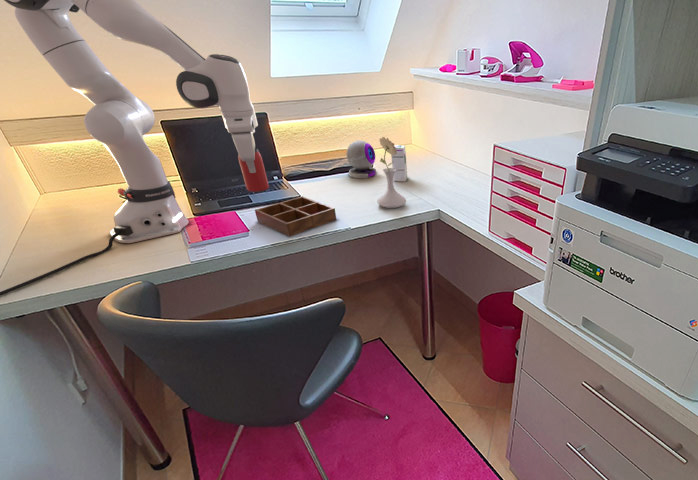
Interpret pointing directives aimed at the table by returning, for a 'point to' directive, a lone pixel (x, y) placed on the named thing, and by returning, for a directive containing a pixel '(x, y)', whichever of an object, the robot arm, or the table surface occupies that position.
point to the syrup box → (399, 164)
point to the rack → (295, 215)
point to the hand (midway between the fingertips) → (253, 168)
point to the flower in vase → (390, 180)
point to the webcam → (361, 159)
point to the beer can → (254, 174)
